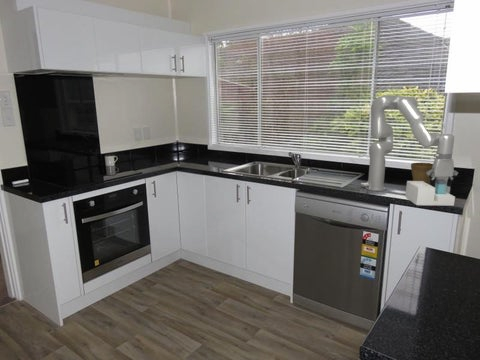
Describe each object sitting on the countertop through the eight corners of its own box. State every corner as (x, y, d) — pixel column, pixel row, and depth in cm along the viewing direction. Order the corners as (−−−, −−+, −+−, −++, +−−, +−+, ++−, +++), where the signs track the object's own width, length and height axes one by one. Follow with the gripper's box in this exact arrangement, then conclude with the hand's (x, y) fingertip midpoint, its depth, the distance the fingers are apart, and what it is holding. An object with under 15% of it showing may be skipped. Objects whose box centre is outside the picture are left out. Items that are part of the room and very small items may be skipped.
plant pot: (421, 184, 237) (423, 161, 233) (439, 189, 223) (442, 165, 219) (403, 186, 232) (405, 163, 229) (421, 192, 219) (423, 167, 215)
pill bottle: (445, 197, 207) (448, 172, 204) (432, 194, 214) (434, 170, 210) (451, 194, 212) (454, 170, 208) (438, 192, 218) (441, 168, 215)
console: (416, 205, 193) (418, 188, 191) (405, 197, 209) (407, 181, 206) (453, 205, 192) (456, 188, 189) (439, 197, 207) (441, 181, 205)
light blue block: (436, 199, 198) (439, 181, 195) (433, 197, 201) (435, 179, 199) (444, 199, 197) (446, 181, 195) (440, 197, 201) (442, 179, 199)
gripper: (431, 157, 191) (427, 187, 195) (463, 157, 189) (459, 188, 193) (425, 155, 198) (421, 184, 202) (456, 155, 197) (452, 184, 201)
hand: (440, 186), depth 198 cm, fingers open, 8 cm apart
